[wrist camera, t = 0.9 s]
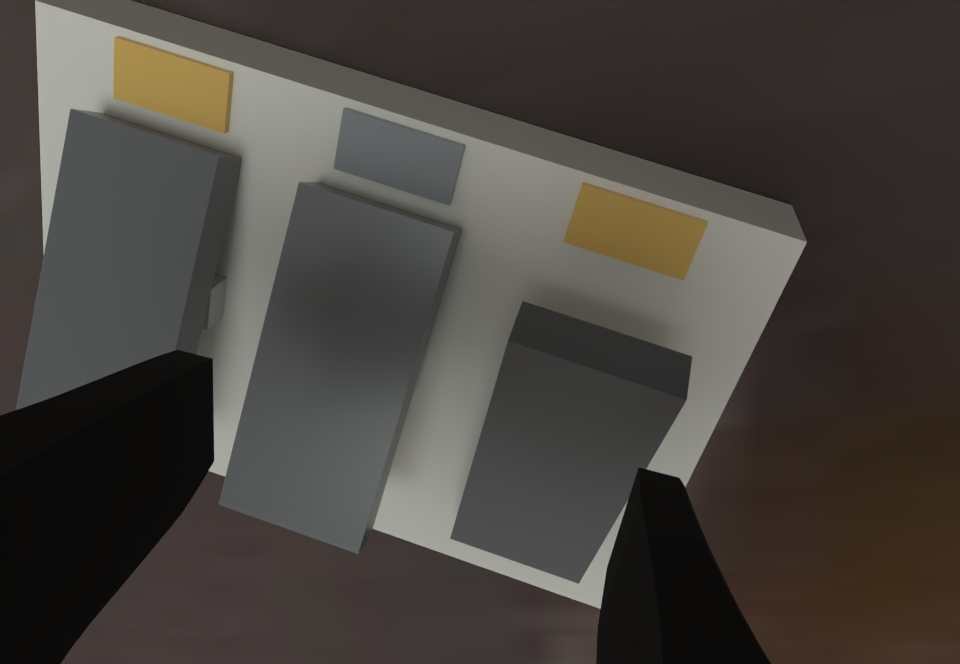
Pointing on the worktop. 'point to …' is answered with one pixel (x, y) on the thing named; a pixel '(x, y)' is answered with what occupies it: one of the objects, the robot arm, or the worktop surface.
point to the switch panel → (442, 197)
